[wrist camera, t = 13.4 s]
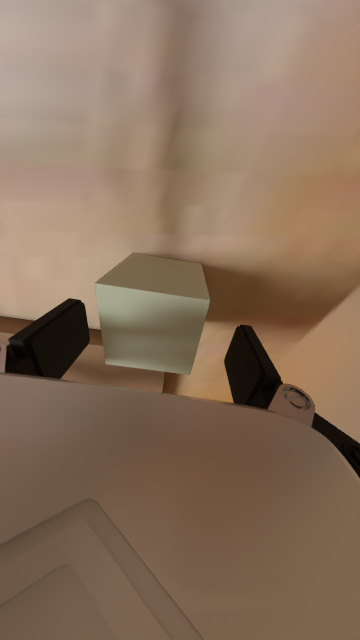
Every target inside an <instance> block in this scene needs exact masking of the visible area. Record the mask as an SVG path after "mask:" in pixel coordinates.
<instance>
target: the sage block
mask: <svg viewBox="0 0 360 640" xmlns="http://www.w3.org/2000/svg"><path fill="white" fill-rule="evenodd" d="M95 290H96V298H97V305H98V312H99V319H100V327H101V334H102V341H103V348H104V355H105V363H106V364H109V365H117V366H125V367H132V368H140V369H148V370H156V371H163V372H171V373H179V374H187V375H190V374H191V370H192V367H193V363H194V359H195V355H196V352H197V348H198V344H199V341H200V337H201V333H202V330H203V326H204V322H205V319H206V315H207V311H208V308H209V304H210V297H209V293H208V289H207V285H206V280H205V276H204V272H203V268H202V264H199V263H193V262H187V261H181V260H174V259H168V258H162V257H156V256H149V255H143V254H137V253H132V254H131V255H129V256H128V257H127V258H126V259H124V260H123V261H122V262H121V263H119V264H118V265H117V266H116V267H114V268H113V269H112V270H110V271H109V272H108V273H107V274H105V275H104V276H103V277H102V278H100V279H99V280H98V281H97V282H95Z"/></svg>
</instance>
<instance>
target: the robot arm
mask: <svg viewBox="0 0 360 640" xmlns="http://www.w3.org/2000/svg"><path fill="white" fill-rule="evenodd" d="M8 341H9V343H10V344H9V345H7V346H5V345H4V344H1V343H0V640H360V443H358V442H357V441H355V440H354V439H352V438H351V437H350V436H348V435H347V434H345V433H344V432H342V431H341V430H339V429H338V428H337V427H335V426H333V425H332V424H331V423H329V422H328V421H326V420H325V419H324V418H322V417H321V416H319V415H318V414H316V413H315V405H314V403H313V401H312V399H311V398H310V396H309V395H308V394H306V393H305V392H304V391H303V390H301V389H300V388H298V387H296V386H294V385H291V384H283V382H282V381H281V377H280V376H279V374H278V372H277V370H276V369H275V367H274V365H273V363H272V361H271V360H270V358H269V356H268V354H267V353H266V351H265V349H264V347H263V346H262V344H261V342H260V340H259V339H258V337H257V335H256V333H255V332H254V330H253V328H252V327H251V326H249V325H242V324H241V325H240V326H237V328H236V330H235V333H234V335H233V338H232V341H231V343H230V346H229V349H228V351H227V354H226V356H225V360H224V364H225V368H226V372H227V376H228V381H229V385H230V389H231V393H232V397H233V402H234V403H229V402H223V401H217V400H210V399H203V398H196V397H189V396H182V395H175V394H168V393H161V392H153V391H146V390H139V389H131V388H124V387H117V386H109V385H102V384H94V383H87V382H79V381H71V380H64V379H61V378H62V377H63V375H64V374H65V373H66V372H67V370H68V369H69V368H70V367H71V365H72V364H73V363H74V362H75V360H76V359H77V358H78V357H79V355H80V354H81V353H82V352H83V350H84V349H85V348H86V347H87V346H88V344H89V342H90V335H89V329H88V323H87V316H86V310H85V305H84V303H82V301H81V300H77V299H70V298H69V299H67V300H66V301H64V302H63V303H61V304H60V305H58V306H57V307H55V308H54V309H52V310H51V311H49V312H48V313H46V314H45V315H43V316H42V317H40V318H39V319H37V320H36V321H34V322H33V323H31V324H30V325H28V326H27V327H25V328H24V329H22V330H21V331H19V332H18V333H16V334H15V335H13V336H12V337H10V338H9V339H8Z"/></svg>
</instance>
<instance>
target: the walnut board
mask: <svg viewBox="0 0 360 640" xmlns="http://www.w3.org/2000/svg"><path fill="white" fill-rule="evenodd" d="M33 322H34V321H29V320H22V319H15V318H8V317H0V343H1V344H4V345H5V346H7V345H9V344H10V343H9V341H8V339H9V338H10V337H12V336H13V335H15V334H16V333H18V332H19V331H21V330H22V329H24V328H25V327H27V326H28V325H30V324H31V323H33ZM89 335H90V342H89V344H88V346H87V347H86V348H85V349H84V350H83V352H82V353H81V354H80V355H79V357H78V358H77V359H76V360H75V362H74V363H73V364H72V365H71V367H70V368H69V369H68V370H67V372H66V373H65V374H64V375H63V377H62V378H61V379H64V380H71V381H79V382H87V383H94V384H102V385H109V386H117V387H124V388H131V389H139V390H146V391H153V392H161V393H162V390H163V383H164V376H165V372H163V371H156V370H148V369H140V368H132V367H125V366H117V365H109V364H106V363H105V355H104V348H103V341H102V334H101V330H95V329H89Z"/></svg>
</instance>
